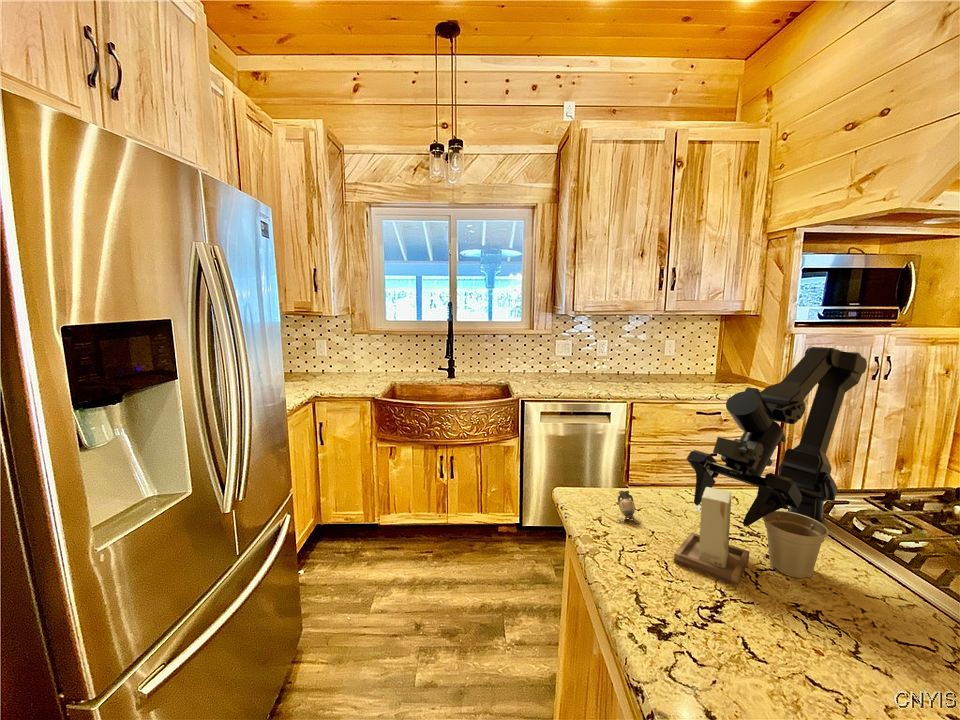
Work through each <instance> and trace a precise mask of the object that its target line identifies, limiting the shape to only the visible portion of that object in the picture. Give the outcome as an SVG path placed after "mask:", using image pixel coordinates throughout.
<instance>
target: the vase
mask: <svg viewBox="0 0 960 720" xmlns="http://www.w3.org/2000/svg"><path fill="white" fill-rule="evenodd" d="M618 494H619V495H618V496H617V502H618V508H619V511H620V512H621V514H622V515H623V516H624V518H619V519H615V521H617V522H619V521H621V520H622V522H621V523H623V521H624V520H625V519H627V518H629V519H633V522H634V523H635V524H636V523H637V522H638V523H639V524H640V523H641V522H640V520H641V518H640V517H639V518H636V517H635V515H634V514H635V511H636V504H635V502H634V501H635V500H634V497H633V496H632V495H631V494H630V490H619V491H618ZM634 520H635V521H634ZM625 521H626V520H625ZM625 521H624V522H625Z"/></svg>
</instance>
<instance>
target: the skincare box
mask: <svg viewBox="0 0 960 720" xmlns="http://www.w3.org/2000/svg"><path fill="white" fill-rule="evenodd" d="M700 505H701V507H700V527H699V535H700V544H699V560H700V561H703V562H706V563H708V564H711V565H714V566H717V567H721V568H725V567H726V564H727V559H728V548H729V545H730V530H731V529H730V527H731V525H730V524H731V509H732V508H731V507H732V491H728V490H724V489H719V488H715V487H712V488H710V487H706V488H705V490H704V493H703V495H702V501H701V503H700Z"/></svg>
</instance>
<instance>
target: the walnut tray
mask: <svg viewBox="0 0 960 720" xmlns="http://www.w3.org/2000/svg"><path fill="white" fill-rule="evenodd" d="M699 544H700V534H698V533H694V532H690V533H689V534H688V535H687V537H686V539H684V541H683V542H682V543H681V545H680V546H678V548H677V550H676V551H675V552H674V557H673V558H674V559H673V564H676V565H679V566H682V567H685V568H687V569H690V570H693V571H695V572H697V573H699V574H700V573H701V574H703V575H706V576H709V577H710V578H713V579H716V580H719V581H721V582H724V583H727V584H728V585H731V586H734V587H735V588H736V587H737V586H738V584H739V582H740V580H741V578H742V576H743V574H744V572H745V570H746V567H747V565H748V563H749V562H750V550H747V549H743V548H741V547H738V546H734V545H731V544H729V548H728V559H727V564H726V567H725V568H721V567H717V566H714V565H711V564H708V563H706V562H703V561H700V560H699Z"/></svg>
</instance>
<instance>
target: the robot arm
mask: <svg viewBox="0 0 960 720" xmlns="http://www.w3.org/2000/svg"><path fill="white" fill-rule="evenodd" d="M867 366H868V361H867V359H866V357H863V356H862V355H861V353H860V352H855V351H842V350H839V349H837V348H835V347H823V346H811V347H807V348H806V349H805V352H804V356H803V357H802V358H801V359H800V360H799V361H798V362H797V364H796V365H795V366H794V367H793V368H792V369H791V370H790V371H789V372H788V374H786V376H785V377H784V378H783V379H782V380H781V381H780V382H779V383H775V384H772V385H769V386H768V385H767V386H766V387H765V388H764V389H762V390H761V391H760V389H759V388H756V387H749V386H747V387H746V388H745V389H744V391H739V392H737V393H735V394H733V395H732V396H730V397H729V398H727V400H726V402H725V408H726V410H727V411H728V413H729V415H730V416H731V417H732V419H733V420H734V422H735V424H736V425H737V426H738V428H739V429H740V430H742V431H743V433H742V434H741V436H740V438H739V439H738V438H734V439H733V440H732V439H729V438H725V437H720V436H717V437H716V442H715V444H714V447H713V451H712V453H713V454H715V455H720V459H721V461H722V462H723V463H725V464H722V463H719V462H717V460H716V459H715V458H714V456H712V454H710V453H706V452H703V451H700V450H696V449H694V450H691V451H690V452H689V453H688V455H687V457H686V459H685V460H687V462H688V463H689V465H690V466H691V468H692V469H693V470H694V471H695V489H694V498H693V504H694V505H695V506H699V505H701V501H702V495H703V493H704V490H705V488H706V487H710V488H714V487H713V486H714V485H715V483H716V480H715V478H717V477H718V476H719V475H721V476H724V477H726V478H730V479H733V480H736V481H738V482H743V483H744V484H748V485H751V486H754V487H757V488H758V489H757V494H756V496H755V499H754V501H753V503H752V504H751V506H750V507H749V509H748V511H747V513H746V514H745V516H744V519H743V521H742V524H743V526H744V527H746V528H747V527H749V526H750V525H752V524H754V523H756V522H758V521H759V520H760V519H762V517H764V516H766V515H768V514H770V513H772V512H774V511H776V510H780V509H783V510H787V511H788V512H793V513H797V514H801V515H804V516H807V517H810V518H812V519H814V520H816V521H818V522H820V523H822V524H823V525H824V526H825V521H826V515H824V505H825V504H824V502H828V501H831V502H834V501H836V497H837V494H838V485H837V484H836V483H835V480H834V478H833V477H832V475H831V473H832V469H833V467H832V466H831V463H830V461H829V459H828V456H827V452H828V448H829V445H830V442H831V440H832V435H833V434H834V433H833V432H834V429H835V426H836V424H837V419H838V417H839V415H840V411H841V408H842V404H843V401H844V399H845V398H844V397H845V394H846V393H848V392H849V391H850V390H851V389H852V388H854V387H855V386H857V385H858V384H859V383H860V380H861V378H862V376H863V374H864V373H865V372H866V370H867ZM816 386H817V387H816ZM815 387H816V388H817V389H816V391H815V393H814V398H813V401H812V404H811V406H810V410H809V413H808V415H807V419H806V423H805V425H804V428H803V432H802V435H801V437H800V441H799V443H798V444H797V446H795V447H793V448H786V450H785V452H784V456H783V459H782V461H781V463H780V465H778V466H779V467H778V474H776V473H772V472H768V473H766V474H765V476H764V477H763V476H762V475H763V472H764V471H765V469H766V467H767V466H768V467H771V466H772V464H773V460H772V459H771V458H772V456H773V454H774V452H775V450H776V448H777V447H778V445H779V443H780V442H781V443H785V442H786V435H785V433H784V430H783V429H784V428H783V427H781V425H780V424H779V423H783V424H787V425H795V424H796V423H798V422H799V420H801V419H802V418H803V415H804V414H805V413H806V412H805V411H806V405H805V404H806V403H805V399H806V398H807V396H808V395H809V394H810V392H811V391H812V390H813V389H814V388H815Z"/></svg>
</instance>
